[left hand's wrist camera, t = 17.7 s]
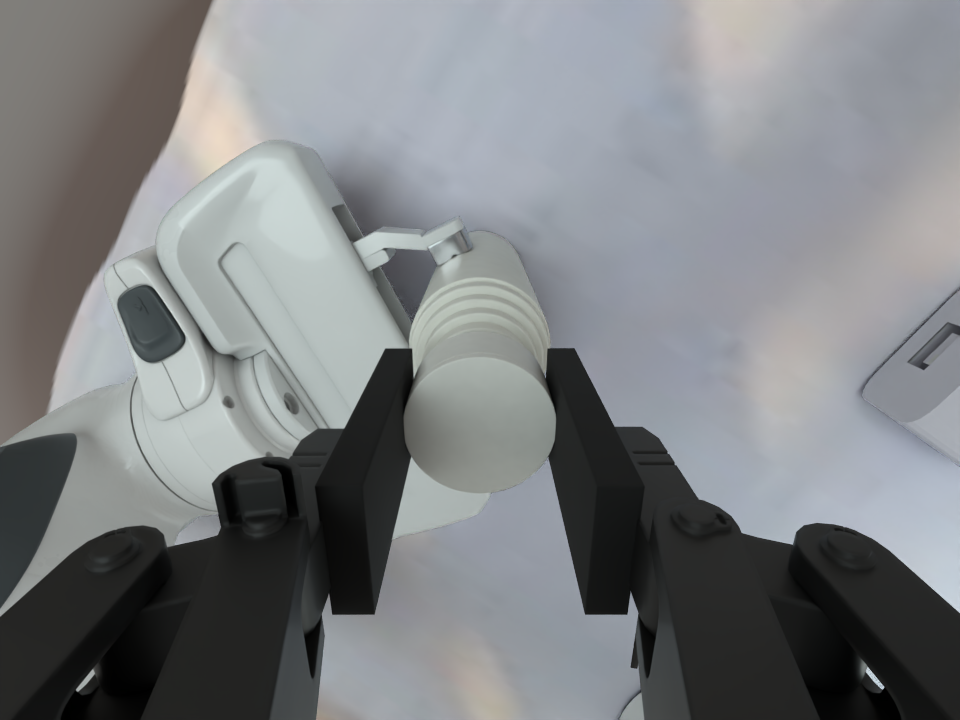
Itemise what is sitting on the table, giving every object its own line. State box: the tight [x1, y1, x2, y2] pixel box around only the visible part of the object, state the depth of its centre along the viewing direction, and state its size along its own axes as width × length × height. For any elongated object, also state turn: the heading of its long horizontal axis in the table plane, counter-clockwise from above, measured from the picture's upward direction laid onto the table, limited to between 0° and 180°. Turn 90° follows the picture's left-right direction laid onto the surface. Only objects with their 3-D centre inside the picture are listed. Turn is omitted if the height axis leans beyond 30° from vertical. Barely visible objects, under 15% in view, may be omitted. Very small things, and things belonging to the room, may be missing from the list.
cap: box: [403, 331, 556, 494], centre depth 14 cm, size 4×4×2 cm
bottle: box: [409, 231, 550, 374], centre depth 22 cm, size 5×5×19 cm
